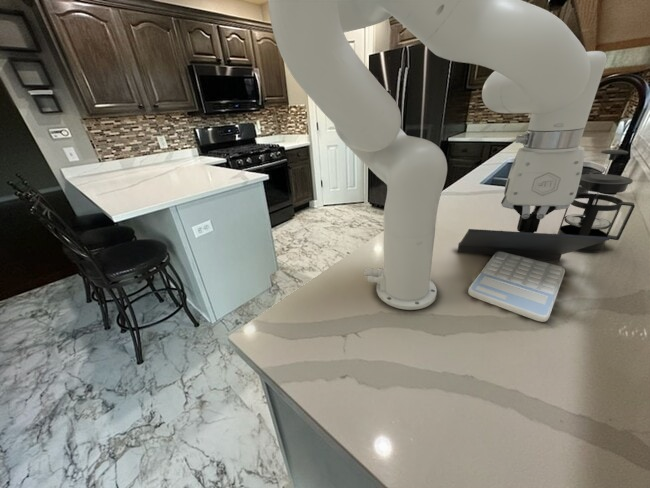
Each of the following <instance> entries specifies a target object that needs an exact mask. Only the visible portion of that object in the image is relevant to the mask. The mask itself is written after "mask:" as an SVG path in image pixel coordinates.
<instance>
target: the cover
mask: <svg viewBox="0 0 650 488" xmlns="http://www.w3.org/2000/svg"><path fill="white" fill-rule="evenodd" d="M604 241H605V242H607V241H610V239H609V237H596V236H579V235H562V234H557V233H546V232H545V233H544V232H543V233H542V232H541V233H540V232H534V233H529V232H519V231H511V230H510V231H509V230H493V229H479V228H478V229H476V228H468V229H467V231H466V233H465V235H464V236H463V237H462V239H461V240H460V242H458V244H459V246H467V247H479V248H491V249H503V250H516V251H528V252H540V253H552V254H562V255H565V254H568V253H572V252H576V251H575V250H578V249H582V248H585V247H588V246H591V245H595V244H598V243H601V242H604Z"/></svg>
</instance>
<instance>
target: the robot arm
mask: <svg viewBox="0 0 650 488" xmlns="http://www.w3.org/2000/svg"><path fill="white" fill-rule="evenodd" d="M267 3H268V13H269V19H270V25H271V29H272V33H273V37H274V40H275V43H276V46H277V49H278V51H279V53H280V56H281V58H282V60H283V62H284V65H285V67H286V69H287V70H288V71H289V73H290V75H291V76H292V78H293V79H294V80H295V82H296V83H297V84H298V86H299V87H300V88H301V89H302V90H303V92H304V93H305V94H306V95H307V96H308V97H309V99H311V101H312V102H313V103H314V104H315V105H316V106H317V107H318V108H319V110H320V111H321V112H322V113H323V114H324V115H325V116H326V117H327V118H328V120H330V121H331V123H332V124H333V127H334V129H335V132H336V134H337V136H338V137H339V139H340V140H341V141H342V142H343V144H344V145H346V146H347V148H348V149H349V150H350V151H351V152H352V153H353V154H354V155H355V156H356V157H357V158H358V159H359V160H360V161H361V162H362V163H363V164H364V165H365V166H366V167H367V168H368V169H369V170H370V171H371V172H372V173H373V174H374V175H375V176H376V177H377V178H378V179H379V180H380V181H382V182H383V183H384V184H385V185H386V189H387V191H386V198H385V201H384V202H385V203H384V208H383V267H382V268H378V269H377V268H370V267H365V268H364V273H363V274H364V276H365V277H366V278H367V279H366V281H367V283H375V284H376V286H375V287H376V294H377V296H378V297H379V299H380V300H381V301H382V302H384V303H385V304H387V305H388V306H390V307H393V308H396V309H398V310H399V309H401V310H404V311H405V310H406V311H413V310H421V309H425V308H427V307H429V306H430V305H432V304H433V303H434V302H435V300H436V299H437V294H438V293H437V292H438V291H437V287H436V285H435V284H434V282H433V281H432V280H431V274H432V264H433V256H434V246H435V236H436V225H437V218H438V217H437V216H438V210H439V206H440V205H439V204H440V199H441V196H442V193H443V190H444V186H445V184H446V180H447V175H448V162H447V158H446V155H445V153H444V151H443V150H442V149H441V148H440V146H438V145H437V144H436V143H434V142H432V141H431V140H428V139H426V138H422V137H417V136H411V135H407V134H406V133H405V131H404V130H403V129H402V128H401V127H402V115H401V110H400V108H399V106H398V103H397V101H396V100H395V99H394V98H393V96H392V95H391V93H389V91H388V90H386V89H385V87H384V86H383V85H382V84H381V83H380V82H379V81H378V79H377V78H376V77H375V76H374V74H372V72H371V71H370V70H369V67H367V65H365V64H364V62H363V61H362V60H361V58H360V56H359V55H358V54H357V53H356V51H355V50H354V48H353V46H352V45H351V44H350V42H349V40H348V38H347V36H346V35H345V33H348V32H354V31H357V30H361V29H365V28H369V27H372V26H375V25H378V24H381V23H383V22H385V21H387V20H389V19H390V18H391V17H393V18H394V20H396V21H397V22H398V23H399V24H401V25H402V26H403V27H404V28H405V29H406V30H407V31H408V32H409V33H411V34H412V35H413V36H414V37H415V38H417V40H419V41H420V43H422V44H423V45H424V46H425V47H426V48H427V49H428V50H429V51H430V52H431V53H433V54H434V55H435V56H437V57H438V58H441V59H445V60H447V61H450V62H451V61H452V62H455V63H456V62H457V63H465V64H472V65H475V66H476V65H477V66H481V67H485V68H487V69H489V70H492V71H493V72H492V73H490V75H489V76H488V77H487V78H486V80H485V82H484V84H483V86H482V90H481V99H482V102H483V105H484V106H485V107H486V108H487V109H488V110H490V111H492V112H494V113H499V114H530V118H529V123H528V126H527V129H526V131H525V132H524V133H522V134H517V135H516V137H515V144H520V145H521V144H522V146H523V147H520V148H519V149H518V150H517V153H516V154H515V157H514V159H513V161H512V164H511V167H510V169H509V173H508V176H507V179H506V182H505V186H504V191H503V194H504V195H503V198H502V199H501V201H500V205H501V207H502V208H505V209H509V210H514V211H515V212H516V213H517V214H518V215H519V218H518V222H517V227H516V230H517V232H529V233H538V229H539V226H540V222H541V220H543V219H544V218H545V217H546V216H547V215H549V214H550V213H552V212H554V211H561V210H566V208H568V209H569V208H570V207H571V203H572V202H573V201H574V200H576V199H575V197H576V194H578V191H579V188H580V187H579V186H580V178H581V175H583V174H582V173H583V168H584V161H585V151H586V150H585V149H586V148H585V147H583V146H580V143H581V141H582V138H583V136H584V135H583V134H584V131H585V128H586V126H587V123H588V120H589V117H590V113H591V110H592V106H593V104H594V101H595V98H596V95H597V92H598V90H599V86H600V83H601V80H602V76H603V74H604V71H605V67H606V63H607V61H608V60H607V58H608V57H607V54H606V52H604V51H602V50H590V51H587V50H586V48H585V47H584V45H583V44H582V42H581V41H580V39H579V38H578V37H577V36H576V35H575V34H574V32H573V31H572V30H571V29H570V27H569V26H568V25H567V24H566V23H565V22H564V21H563V20H562V19H561V18H559V17H558V16H557V15H555V14H554V13H552V12H550V11H549V10H547V9H545V8H542V7H541V6H538V5H535V4H533V3H529V2H528V1H524V0H267ZM531 207H534V208H533V210H532V211H531Z"/></svg>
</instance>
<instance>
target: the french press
mask: <svg viewBox="0 0 650 488" xmlns="http://www.w3.org/2000/svg"><path fill="white" fill-rule="evenodd" d="M600 153H601V154H603V155H609V157H608V160H609V162H608V164H607V166H606V169H605V172H604V173H585V174H584V173H583V174H581V178H580V183H579V185H580V186H581V188H582V189H583V190H584V191H586V192H583V193H577V194H576V197H575V199H574V201H573V202H572V203H571V204H570V206H573V207H575V208H578V209H584V210H583V213H582V214H581V213H580V214H579V213H573V214H567V212H568V209H569V208H566V209H565V211H564V214H563V217H562V218H561V222H560V225H559V228H558V230H557V233H556V234H562V235H579V236H596V237H609V240H613V241H619V240H620V238H621V236H622V234H623V232H624V230H625V228H626V226H627V224H628V222H629V219H630V218H631V215H632V213H633V211H634V209H635V207H636V205H635V202H629V201H623V200H622V199H621V198H618V197H616V196H612V195H607V194H619V193H623V192H625V191H626V190H627V189H628V185H630V184H632V183H633V179H632V178H630V177H627V176H624V175H623V176H622V175H618V174H609V173H608V172H609V169H610V168H611V165H612V163H613V161H615V159H616V157H617V156H618V155H627V154H629V151H627V150H625V149H605V150H601V151H600ZM590 192H591V193H590ZM579 199H581V200H582V199H587V202H582V201H579ZM599 201H604V202H609V203H612V204H610V205H609V204H607V205H606V204H598V203H599ZM622 206H627V207H630V208H629V209H628V212H627V213H626V216H625V218H624V220H623V222H622V225H621V227H620V228H619V231H618V233H617V235H610V232H611V230H612V228H613V226H614V224H615V222H616V219H617V217H618V214H619V212H620V211H621V208H622ZM614 211H615V214H614V216H613V218H612V220H611V222H610V220H607V219H605V218H603V217H599V216H598V213H599V212H614ZM564 222H565V223H566V224H564V225H563V223H564ZM604 230H607V231H606V232H605V231H604ZM605 243H606V241H604V242H601V243H598V244H595V245H591V246H588V247H585V248H582V249H578V250H575V251H574V252H580V253H599V252H601V251H603V250H604V248H605V246H604V245H605Z"/></svg>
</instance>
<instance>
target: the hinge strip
mask: <svg viewBox="0 0 650 488" xmlns="http://www.w3.org/2000/svg"><path fill="white" fill-rule="evenodd" d="M496 252H505V253H509V254H513V255H517V256H521V257H525V258H529V259H533V260H541V261H554V262H560V261H561V258H562V255H563V254H552V253H540V252H528V251H516V250H503V249H491V248H479V247H467V246H459V243H458V244H457V253H465V254H475V255H485V256H486V255H487V256H494V254H495V253H496Z"/></svg>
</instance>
